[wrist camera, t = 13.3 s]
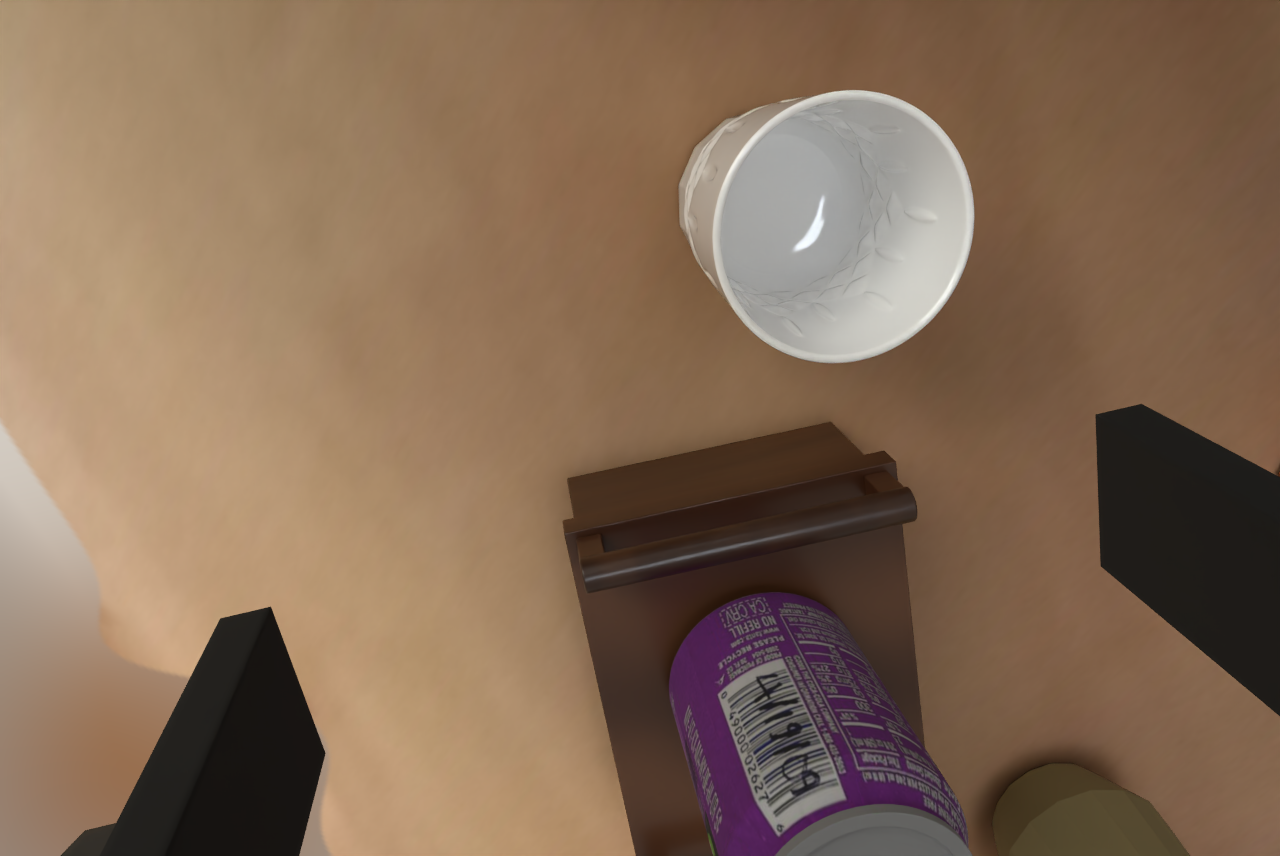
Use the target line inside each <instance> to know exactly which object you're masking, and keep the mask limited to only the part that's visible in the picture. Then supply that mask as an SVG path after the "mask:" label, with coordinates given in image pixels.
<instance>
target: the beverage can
mask: <svg viewBox="0 0 1280 856" xmlns="http://www.w3.org/2000/svg"><path fill="white" fill-rule="evenodd" d="M669 696H670V702H671V707H672V710H673V714H674V717H675V721H676V724H677V728H678V732H679V735H680V739H681V742H682V746H683V749H684V753H685V757H686V760H687V764H688V767H689V771H690V774H691V778H692V781H693V785H694V789H695V792H696V796H697V799H698V803H699V806H700V810H701V814H702V817H703V821H704V824H705V828H706V831H707V835H708V839H709V842H710V846H711V849H712V853H713V856H973V855H972V854H971V852H970V850H969V849H968V830H967V825H966V820H965V817H964V813H963V811H962V808H961V806H960V804H959V802H958V800H957V798H956V796H955V794H954V793H953V791H952V790H951V788H950V786H949V785H948V783H947V782H946V780H945V779H944V777H943V776H942V774H941V773H940V771H939V769H938V768H937V766H936V765H935V763H934V762H933V760H932V759H931V757H930V756H929V754H928V752H927V751H926V749H925V748H924V746H923V745H922V743H921V742H920V740H919V739H918V737H917V735H916V734H915V732H914V731H913V729H912V728H911V726H910V725H909V723H908V722H907V720H906V718H905V717H904V715H903V714H902V712H901V711H900V709H899V708H898V706H897V705H896V703H895V701H894V700H893V698H892V697H891V695H890V694H889V692H888V691H887V689H886V688H885V686H884V684H883V683H882V681H881V680H880V678H879V677H878V675H877V674H876V672H875V671H874V669H873V667H872V666H871V664H870V663H869V661H868V660H867V658H866V657H865V655H864V654H863V652H862V650H861V649H860V647H859V646H858V644H857V643H856V641H855V640H854V638H853V636H852V635H851V633H850V632H849V630H848V629H847V627H846V626H845V624H844V623H843V622H842V621H841V620H840V619H839V617H838V616H837V615H836V614H834V613H833V612H832V611H831V610H829V609H828V608H827V607H825V606H824V605H822V604H820V603H818V602H816V601H814V600H812V599H809V598H807V597H803V596H800V595H796V594H790V593H780V592H769V593H759V594H753V595H749V596H745V597H742V598H739V599H736V600H734V601H731V602H729V603H727V604H725V605H723V606H721V607H719V608H718V609H716V610H714V611H713V612H711V613H710V614H709V615H707V616H706V617H705V618H704V619H702V620H701V621H700V622H699V623H698V624H697V625H696V626H695V627H694V628H693V629H692V631H691V632H690V633H689V634H688V635H687V637H686V638H685V639H684V641H683V643H682V644H681V646H680V648H679V650H678V652H677V654H676V656H675V658H674V661H673V664H672V668H671V672H670V679H669Z"/></svg>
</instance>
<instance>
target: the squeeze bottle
mask: <svg viewBox="0 0 1280 856" xmlns="http://www.w3.org/2000/svg"><path fill="white" fill-rule="evenodd" d="M992 827H993V832H994V837H995V841H996V846H997V851H998V856H1190V855H1189V853H1188V852H1187V851H1186V849H1185V848H1184V846H1183V845H1182V844H1181V842H1180V841H1179V840H1178V838H1177V837H1176V836H1175V834H1174V833H1173V832H1172V830H1171V829H1170V827H1169V826H1168V825H1167V823H1166V822H1165V821H1164V819H1163V818H1162V817H1161V816H1160V814H1159V813H1158V812H1157V811H1156V809H1155V808H1154V807H1153V805H1152V804H1151V803H1150V802H1149V801H1147V800H1145V799H1144V798H1142V797H1140V796H1138V795H1136V794H1134V793H1132V792H1130V791H1128V790H1126V789H1124V788H1122V787H1120V786H1118V785H1116V784H1114V783H1113V782H1111V781H1109V780H1107V779H1105V778H1103V777H1101V776H1099V775H1097V774H1095V773H1093V772H1091V771H1089V770H1087V769H1084V768H1082V767H1080V766H1077V765H1075V764H1057V763H1051V764H1048V765H1045V766H1042V767H1039V768H1036V769H1033V770H1031V771H1028V772H1027V773H1025V774H1024V775H1023V776H1021V777H1020V778H1019V779H1017V780H1016V781H1015V782H1013V783H1012V784H1011V785H1009V787H1008V788H1007V790H1006V791H1005V793H1004V794H1003V795H1002V797H1001V798H1000V800H999V801H998V803H997V804H996V808H995V813H994V817H993V821H992Z"/></svg>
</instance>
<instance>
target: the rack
mask: <svg viewBox="0 0 1280 856" xmlns="http://www.w3.org/2000/svg"><path fill="white" fill-rule="evenodd" d="M567 481H568V486H569V492H570V498H571V504H572V510H573V516H574V518H572V519H567V520H563V528H564V535H565V539H566V544H567V548H568V553H569V557H570V562H571V566H572V571H573V575H574V580H575V584H576V589H577V593H578V598H579V602H580V607H581V611H582V616H583V620H584V625H585V629H586V634H587V638H588V643H589V647H590V652H591V656H592V660H593V665H594V669H595V674H596V678H597V683H598V687H599V692H600V696H601V701H602V705H603V710H604V714H605V719H606V723H607V728H608V732H609V737H610V741H611V746H612V750H613V755H614V759H615V764H616V768H617V773H618V777H619V782H620V786H621V791H622V795H623V800H624V804H625V809H626V813H627V818H628V822H629V827H630V831H631V836H632V840H633V845H634V849H635V853H636V856H713V853H712V849H711V846H710V842H709V839H708V835H707V831H706V828H705V824H704V821H703V817H702V814H701V810H700V806H699V803H698V799H697V796H696V792H695V789H694V785H693V781H692V778H691V774H690V771H689V767H688V764H687V760H686V757H685V753H684V749H683V746H682V742H681V739H680V735H679V732H678V728H677V724H676V721H675V717H674V714H673V710H672V707H671V702H670V696H669V679H670V672H671V668H672V664H673V661H674V658H675V656H676V654H677V652H678V650H679V648H680V646H681V644H682V643H683V641H684V639H685V638H686V637H687V635H688V634H689V633H690V632H691V631H692V629H693V628H694V627H695V626H696V625H697V624H698V623H699V622H700V621H701V620H702V619H704V618H705V617H706V616H707V615H709V614H710V613H711V612H713V611H714V610H716V609H718V608H719V607H721V606H723V605H725V604H727V603H729V602H731V601H734V600H736V599H739V598H742V597H745V596H749V595H753V594H759V593H769V592H780V593H790V594H796V595H800V596H803V597H807V598H809V599H812V600H814V601H816V602H818V603H820V604H822V605H824V606H825V607H827V608H828V609H829V610H831V611H832V612H833V613H834V614H836V615H837V616H838V617H839V619H840V620H841V621H842V622H843V623H844V624H845V626H846V627H847V629H848V630H849V632H850V633H851V635H852V636H853V638H854V640H855V641H856V643H857V644H858V646H859V647H860V649H861V650H862V652H863V654H864V655H865V657H866V658H867V660H868V661H869V663H870V664H871V666H872V667H873V669H874V671H875V672H876V674H877V675H878V677H879V678H880V680H881V681H882V683H883V684H884V686H885V688H886V689H887V691H888V692H889V694H890V695H891V697H892V698H893V700H894V701H895V703H896V705H897V706H898V708H899V709H900V711H901V712H902V714H903V715H904V717H905V718H906V720H907V722H908V723H909V725H910V726H911V728H912V729H913V731H914V732H915V734H916V735H917V737H918V739H919V740H920V742H921V743H922V745H923V746H924V748H925V745H924V735H923V725H922V715H921V706H920V696H919V686H918V676H917V666H916V656H915V646H914V636H913V626H912V616H911V606H910V597H909V587H908V577H907V567H906V557H905V547H904V537H903V527H902V524H904V523H909V522H913V521H915V520H916V519H917V505H916V501H915V498H914V496H913V493H912V492H911V490H910V489H909V488H908V487H903V486H902V485H901V484H900V483H899V482H898V478H897V468H896V461H895V460H894V459H892V458H891V457H890V456H889V455H888V454H887V453H886V452H885V451H881V452H876V453H871V454H867V455H864V454H863V453H862V452H861V451H860V450H859V449H858V448H857V447H856V446H855V445H853V444H852V443H851V442H850V441H849V440H848V439H847V438H846V437H845V436H844V435H843V434H842V433H841V432H840V431H839V430H838V429H837V428H836V427H835V426H834V425H833V424H832V423H831V422H829V423H824V424H819V425H815V426H810V427H805V428H801V429H796V430H791V431H787V432H782V433H777V434H773V435H768V436H763V437H759V438H754V439H749V440H745V441H740V442H735V443H731V444H726V445H721V446H717V447H712V448H707V449H703V450H698V451H693V452H689V453H684V454H679V455H675V456H670V457H665V458H661V459H656V460H651V461H647V462H642V463H637V464H633V465H628V466H623V467H619V468H614V469H609V470H605V471H600V472H595V473H591V474H586V475H581V476H577V477H572V478H568V479H567Z"/></svg>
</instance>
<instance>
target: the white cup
mask: <svg viewBox="0 0 1280 856" xmlns="http://www.w3.org/2000/svg"><path fill="white" fill-rule="evenodd" d="M679 223H680V227H681V229H682V231H683V233H684V235H685V237H686V239H687V241H688V243H689V245H690V247H691V249H692V252H693V254H694V257H695V258H696V260H697V262H698V264H699V265H700V267H701V268H702V270H703V271H704V273H705V274H706V275H707V277H708V279H709V280H710V282H711V283H712V285H713V286H714V287H715V289H716V290H717V291H718V292H719V293H720V295H721V296H722V297H723V298H724V299H725V301H726V302H727V303H728V304H729V306H730V307H731V308H732V309H733V311H734V312H735V313H736V314H737V316H738V317H739V318H740V319H741V321H742V322H743V323H744V324H745V325H746V326H747V327H748V328H749V329H750V330H751V331H752V332H753V333H754V334H755V335H756V336H757V337H759V338H760V339H761V340H763V341H764V342H765V343H767V344H768V345H770V346H772V347H773V348H775V349H777V350H779V351H781V352H783V353H785V354H788V355H790V356H793V357H796V358H799V359H803V360H807V361H813V362H820V363H846V362H854V361H859V360H864V359H867V358H871V357H874V356H877V355H880V354H882V353H884V352H887V351H889V350H891V349H893V348H895V347H897V346H899V345H900V344H902V343H904V342H905V341H907V340H908V339H910V338H911V337H913V336H914V335H915V334H916V333H918V332H919V331H920V330H921V329H923V328H924V327H925V326H926V325H927V324H928V323H929V322H930V321H931V320H932V319H933V318H934V317H935V316H936V315H937V313H938V312H939V311H940V310H941V309H942V307H943V306H944V305H945V303H946V302H947V301H948V299H949V298H950V296H951V294H952V293H953V291H954V289H955V288H956V286H957V284H958V282H959V280H960V278H961V276H962V273H963V271H964V268H965V266H966V263H967V260H968V256H969V253H970V249H971V244H972V238H973V230H974V201H973V194H972V188H971V184H970V180H969V176H968V173H967V170H966V168H965V165H964V163H963V161H962V158H961V156H960V154H959V152H958V151H957V149H956V147H955V146H954V144H953V143H952V141H951V140H950V138H949V137H948V136H947V134H946V133H945V132H944V131H943V130H942V129H941V128H940V126H939V125H938V124H937V123H935V122H934V121H933V120H932V119H931V118H930V117H929V116H927V115H926V114H925V113H923V112H922V111H921V110H919V109H918V108H916V107H914V106H913V105H911V104H909V103H907V102H905V101H903V100H900V99H898V98H895V97H893V96H889V95H886V94H882V93H878V92H872V91H863V90H844V91H835V92H829V93H824V94H818V95H812V96H805V97H799V98H792V99H787V100H783V101H779V102H776V103H771V104H768V105H764V106H760V107H757V108H755V109H752V110H750V111H748V112H746V113H744V114H741V115H738V116H734V117H731V118H727V119H725V120H724V121H723V122H722V123H721V124H720V125H718V126H717V127H716V128H715V129H714V130H713V131H712V132H711V133H710V134H708V135H707V136H706V137H705V138H704V139H703V140H702V141H701V142H700V143H698V144H697V145H696V146H695V148H694V150H693V152H692V155H691V157H690V159H689V162H688V164H687V166H686V169H685V171H684V173H683V176H682V178H681V180H680V183H679Z"/></svg>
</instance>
